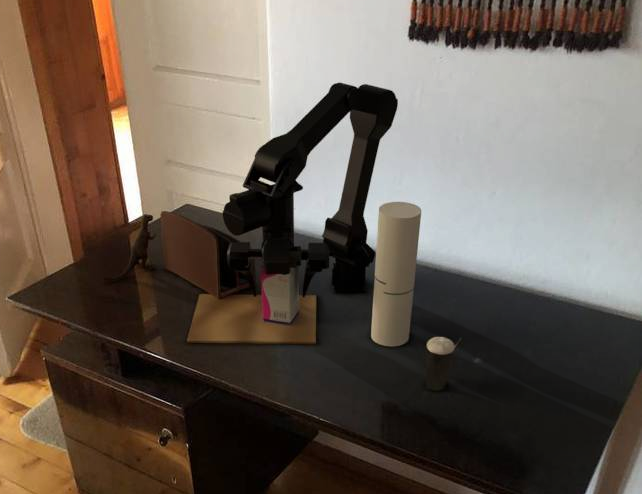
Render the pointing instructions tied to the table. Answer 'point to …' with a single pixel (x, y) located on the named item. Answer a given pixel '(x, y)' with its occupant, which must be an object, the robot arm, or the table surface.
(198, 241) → the letter holder
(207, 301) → the desk mat
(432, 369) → the milkshake
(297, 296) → the supplement box
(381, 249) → the cylindrical container
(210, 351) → the table surface
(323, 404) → the table surface
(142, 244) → the dinosaur model
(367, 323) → the table surface
